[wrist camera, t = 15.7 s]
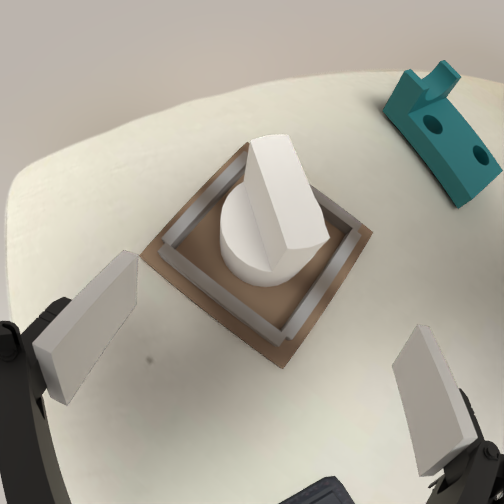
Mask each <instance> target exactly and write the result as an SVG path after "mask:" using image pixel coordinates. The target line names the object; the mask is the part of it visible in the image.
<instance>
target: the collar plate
mask: <svg viewBox="0 0 504 504" xmlns="http://www.w3.org/2000/svg"><path fill="white" fill-rule="evenodd" d="M249 145H250V143H248V142H246V143H245V144H244V145H243V146H242V147H241V148H240V149H239V150H238V151H237V152H236V153H235V154H234V155H233V156H232V157H231V158H230V159H229V160H228V161H227V162H226V163H225V164H224V165H223V166H222V167H221V168H220V169H219V170H218V171H217V172H216V173H215V174H214V175H213V176H212V177H211V178H210V179H209V180H208V181H207V182H206V183H205V184H204V185H203V186H202V188H201V189H200V190H199V191H198V192H197V193H196V194H195V195H194V196H193V197H192V198H191V199H190V200H189V201H188V202H187V203H186V204H185V205H184V207H183V208H182V209H181V210H180V211H179V212H178V213H177V214H176V215H175V216H174V217H173V218H172V219H171V221H170V222H169V223H168V224H167V225H166V226H165V227H164V228H163V229H162V231H161V232H160V233H159V234H158V235H157V236H156V237H155V238H154V239H153V241H152V242H151V243H150V244H149V245H148V246H147V247H146V249H145V250H144V251H143V252H142V253H141V254H140V255H139V256H140V257H141V258H142V259H143V260H144V261H145V262H146V263H147V264H149V265H150V266H151V267H152V268H153V269H154V270H156V271H157V272H158V273H159V274H160V275H162V276H163V277H164V278H165V279H166V280H167V281H169V282H170V283H171V284H172V285H173V286H175V287H176V288H177V289H178V290H180V291H181V292H182V293H183V294H184V295H186V296H187V297H188V298H189V299H191V300H192V301H193V302H194V303H195V304H197V305H198V306H199V307H200V308H202V309H203V310H204V311H206V312H207V313H208V314H209V315H211V316H212V317H213V318H214V319H216V320H217V321H218V322H220V323H221V324H222V325H223V326H225V327H226V328H227V329H229V330H230V331H231V332H233V333H234V334H235V335H236V336H238V337H239V338H240V339H242V340H243V341H244V342H246V343H247V344H248V345H250V346H251V347H252V348H254V349H255V350H257V351H258V352H259V353H261V354H262V355H263V356H265V357H266V358H267V359H269V360H270V361H272V362H273V363H274V364H276V365H277V366H279V367H280V368H281V369H283V368H284V367H285V365H286V364H287V363H288V361H289V360H290V359H291V357H292V356H293V355H294V353H295V352H296V350H297V349H298V348H299V346H300V345H301V343H302V342H303V341H304V339H305V338H306V336H307V335H308V333H309V332H310V331H311V329H312V328H313V326H314V325H315V323H316V322H317V320H318V319H319V317H320V316H321V314H322V313H323V311H324V310H325V309H326V307H327V306H328V304H329V302H330V301H331V299H332V298H333V296H334V295H335V293H336V292H337V290H338V289H339V287H340V286H341V284H342V282H343V281H344V279H345V278H346V276H347V275H348V273H349V271H350V270H351V268H352V267H353V265H354V263H355V262H356V260H357V259H358V257H359V255H360V254H361V252H362V250H363V249H364V247H365V245H366V244H367V242H368V240H369V239H370V237H371V235H372V233H373V232H372V231H371V230H370V229H368V228H367V227H366V226H365V225H363V224H362V223H361V222H360V221H358V220H357V219H356V218H354V217H353V216H352V215H351V214H349V213H348V212H347V211H345V210H344V209H343V208H341V207H340V206H339V205H337V204H336V203H335V202H333V201H332V200H331V199H329V198H328V197H327V196H325V195H324V194H323V193H321V192H320V191H318V190H317V189H316V188H314V187H313V186H311V185H310V184H309V185H310V187H311V189H312V192H313V194H314V197H315V199H316V200H317V202H318V204H319V206H320V208H321V210H322V214H323V218H324V222H325V226H326V228H327V231H328V234H329V236H330V238H329V239H328V241H327V242H326V243H325V244H324V245H323V246H322V247H321V248H320V249H319V250H318V251H317V252H316V254H315V255H314V257H313V258H312V259H311V260H310V261H309V262H308V263H307V264H306V265H305V266H304V267H303V268H302V269H301V270H300V271H299V272H298V273H297V274H296V275H295V276H294V277H292V278H291V279H290V280H289V281H287V282H285V283H282V284H280V285H278V286H271V287H260V286H253V285H251V284H248V283H246V282H243V281H242V280H240V279H239V278H238V277H236V276H235V275H234V274H233V273H232V272H231V271H230V270H229V268H228V267H227V266H226V264H225V262H224V260H223V257H222V255H221V249H220V219H221V212H222V207H223V205H224V202H225V200H226V198H227V196H228V195H229V194H230V193H231V191H232V190H233V189H234V188H235V187H236V186H237V185H239V184H241V183H242V182H243V181H244V175H245V169H246V163H247V157H248V151H249Z"/></svg>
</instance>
